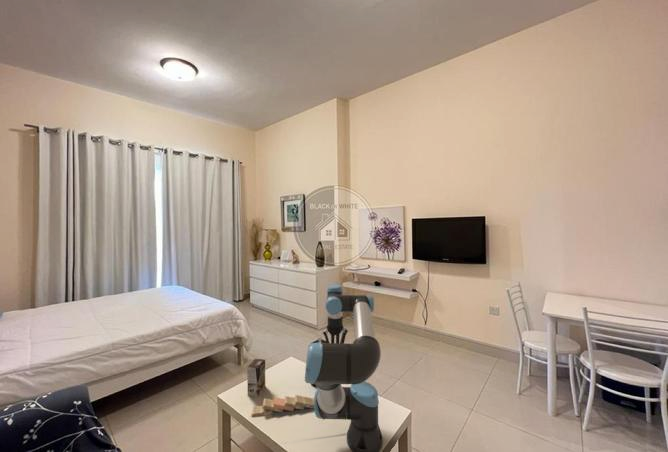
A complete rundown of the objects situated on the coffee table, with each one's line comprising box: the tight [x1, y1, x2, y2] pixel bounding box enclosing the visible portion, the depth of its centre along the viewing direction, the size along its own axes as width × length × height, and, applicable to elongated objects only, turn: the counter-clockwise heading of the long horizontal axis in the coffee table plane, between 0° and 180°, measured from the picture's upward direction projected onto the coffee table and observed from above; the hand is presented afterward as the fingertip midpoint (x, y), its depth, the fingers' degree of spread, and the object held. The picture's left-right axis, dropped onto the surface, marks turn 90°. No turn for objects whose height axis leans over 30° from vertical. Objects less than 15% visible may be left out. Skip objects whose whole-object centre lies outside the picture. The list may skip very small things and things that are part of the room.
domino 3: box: [273, 397, 294, 411], centre depth 132 cm, size 2×5×10 cm
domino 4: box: [283, 395, 305, 410], centre depth 133 cm, size 2×5×10 cm
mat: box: [270, 397, 315, 419], centre depth 133 cm, size 24×10×1 cm, turn 100°
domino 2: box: [262, 397, 283, 412], centre depth 131 cm, size 2×5×10 cm
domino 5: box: [294, 394, 314, 408], centre depth 134 cm, size 2×5×10 cm
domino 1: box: [250, 404, 273, 417], centre depth 131 cm, size 2×5×10 cm
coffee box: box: [246, 358, 266, 398], centre depth 146 cm, size 9×6×16 cm
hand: (335, 362), depth 134 cm, fingers closed
